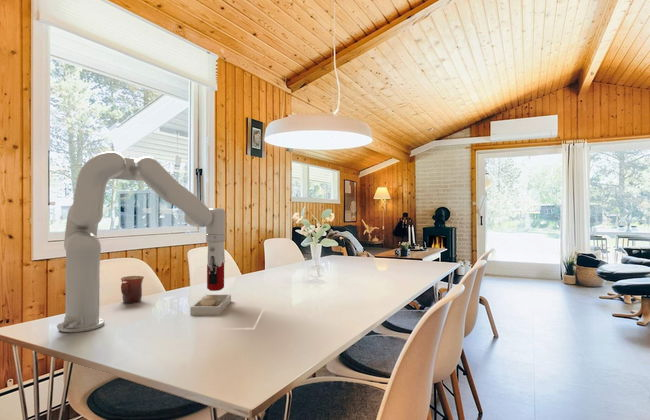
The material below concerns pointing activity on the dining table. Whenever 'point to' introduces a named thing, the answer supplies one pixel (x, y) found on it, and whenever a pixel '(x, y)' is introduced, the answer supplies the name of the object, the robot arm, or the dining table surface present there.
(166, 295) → the dining table surface
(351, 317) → the dining table surface
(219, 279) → the beverage can
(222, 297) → the carton
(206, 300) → the wooden egg
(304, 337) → the dining table surface
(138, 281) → the mug
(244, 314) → the dining table surface
